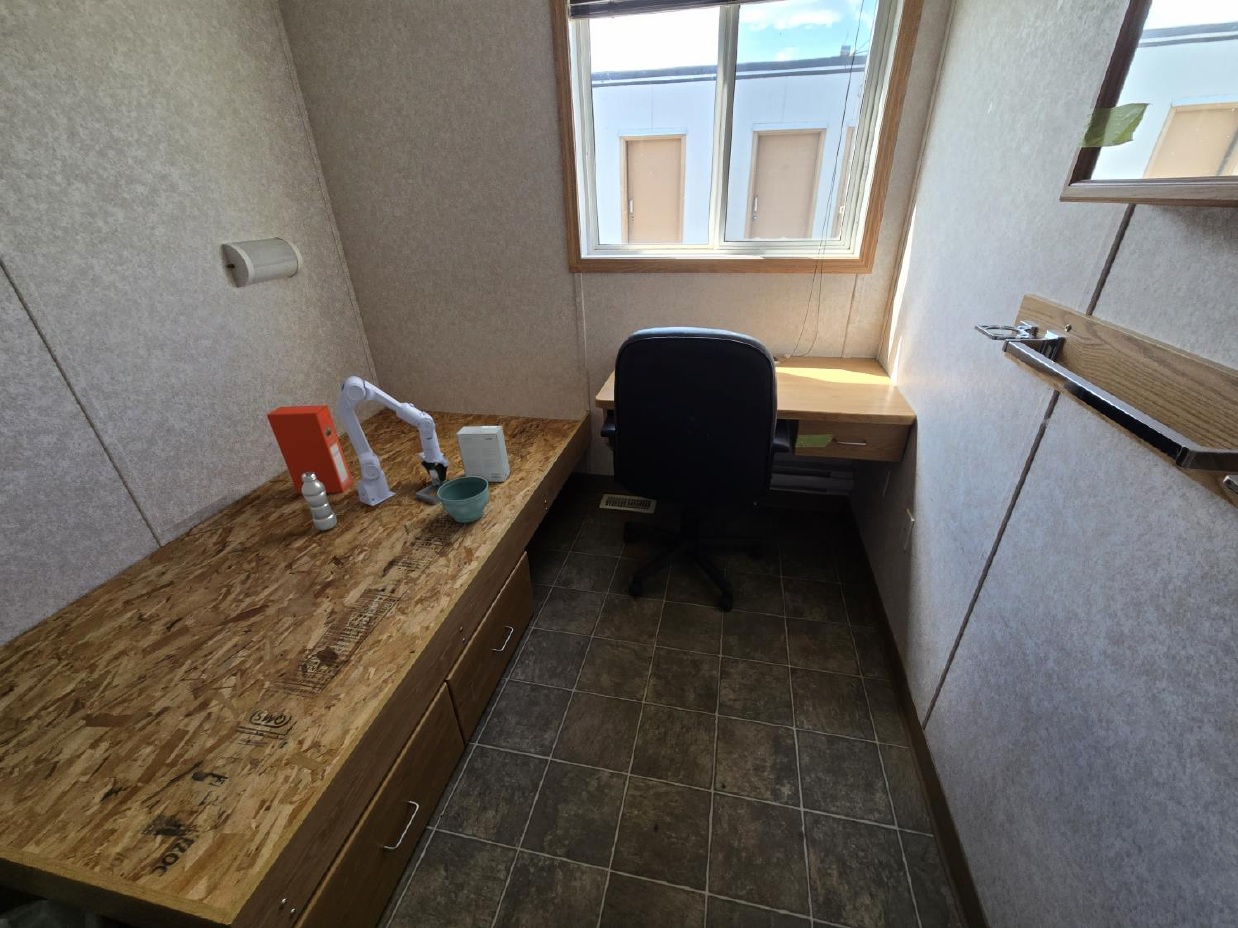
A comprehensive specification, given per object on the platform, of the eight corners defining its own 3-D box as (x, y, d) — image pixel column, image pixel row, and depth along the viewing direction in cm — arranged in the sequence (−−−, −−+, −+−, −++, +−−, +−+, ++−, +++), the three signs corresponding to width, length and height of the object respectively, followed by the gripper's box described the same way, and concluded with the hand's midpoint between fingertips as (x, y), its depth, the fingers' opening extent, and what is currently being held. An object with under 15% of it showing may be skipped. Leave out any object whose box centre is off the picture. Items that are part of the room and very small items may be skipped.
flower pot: (433, 522, 166) (426, 494, 161) (467, 499, 179) (461, 472, 174) (470, 533, 159) (463, 505, 154) (503, 509, 172) (498, 481, 167)
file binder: (342, 493, 187) (315, 413, 172) (297, 494, 187) (266, 414, 173) (353, 482, 194) (327, 404, 179) (309, 483, 195) (280, 406, 180)
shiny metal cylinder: (438, 486, 188) (435, 472, 185) (429, 483, 190) (426, 469, 188) (448, 481, 192) (445, 467, 189) (440, 478, 194) (436, 464, 191)
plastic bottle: (329, 533, 163) (309, 480, 154) (311, 532, 164) (290, 478, 155) (343, 522, 168) (324, 470, 159) (325, 521, 170) (306, 469, 161)
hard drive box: (510, 472, 195) (503, 425, 186) (505, 482, 189) (496, 434, 180) (472, 472, 197) (463, 425, 188) (465, 481, 190) (455, 434, 181)
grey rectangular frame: (434, 505, 176) (433, 500, 175) (416, 498, 181) (415, 493, 180) (456, 492, 183) (455, 487, 183) (438, 485, 188) (437, 481, 187)
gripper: (452, 446, 183) (459, 478, 190) (426, 438, 190) (434, 470, 197) (437, 453, 178) (445, 486, 184) (411, 445, 185) (419, 477, 191)
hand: (438, 478), depth 190 cm, fingers closed on shiny metal cylinder, 5 cm apart
